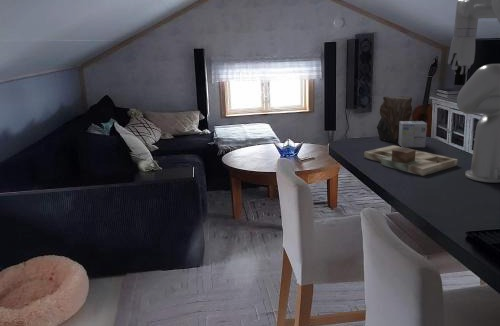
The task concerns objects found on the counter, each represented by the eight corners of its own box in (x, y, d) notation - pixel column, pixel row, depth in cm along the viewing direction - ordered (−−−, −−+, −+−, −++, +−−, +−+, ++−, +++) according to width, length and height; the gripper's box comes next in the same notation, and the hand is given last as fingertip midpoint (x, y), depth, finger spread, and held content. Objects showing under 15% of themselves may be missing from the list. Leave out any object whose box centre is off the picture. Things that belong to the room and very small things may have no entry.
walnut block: (414, 160, 163) (415, 150, 162) (406, 163, 159) (406, 152, 158) (400, 157, 167) (401, 147, 166) (391, 160, 164) (392, 150, 162)
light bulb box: (421, 144, 198) (423, 120, 196) (425, 147, 192) (427, 123, 189) (397, 144, 200) (398, 120, 197) (400, 147, 193) (402, 123, 190)
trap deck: (456, 165, 164) (457, 159, 164) (422, 175, 153) (423, 169, 152) (392, 150, 187) (393, 145, 187) (358, 158, 176) (359, 152, 175)
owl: (374, 138, 212) (377, 96, 207) (393, 135, 218) (396, 94, 213) (395, 143, 202) (398, 99, 196) (414, 139, 207) (417, 97, 202)
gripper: (466, 34, 167) (460, 83, 172) (443, 34, 158) (438, 85, 163) (486, 33, 161) (479, 84, 166) (463, 33, 152) (457, 87, 157)
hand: (459, 84), depth 164 cm, fingers closed
